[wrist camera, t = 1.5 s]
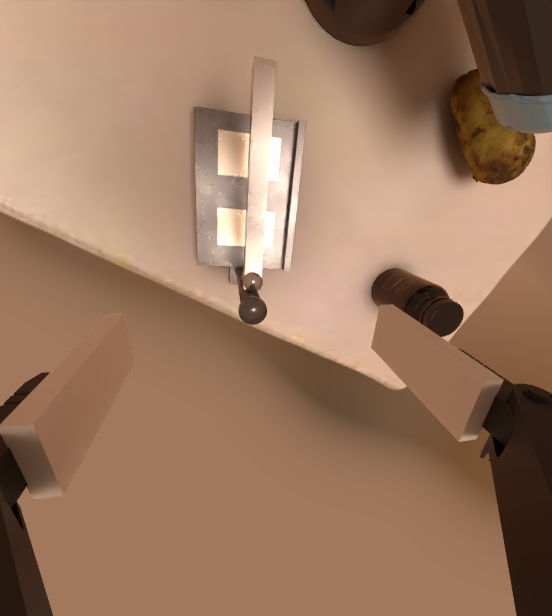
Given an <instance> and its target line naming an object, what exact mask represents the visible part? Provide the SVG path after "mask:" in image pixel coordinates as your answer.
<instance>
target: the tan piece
mask: <svg viewBox="0 0 552 616" xmlns="http://www.w3.org/2000/svg"><path fill="white" fill-rule="evenodd" d="M276 67H277V61H274V60H269V59H264V58H259V57H255V58H254V62H253V67H252V86H251V108H250V131H249V153H248V176H247V199H246V221H245V244H244V266H243V272H242V279H243V287H244V289H247V290H248V291H252V292H254V291H257V290H261V287H262V284H263V281H262V278H261V277H262V263H263V249H264V235H265V221H266V207H267V193H268V179H269V165H270V151H271V137H272V123H273V109H274V95H275V81H276Z"/></svg>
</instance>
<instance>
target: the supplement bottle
mask: <svg viewBox="0 0 552 616" xmlns="http://www.w3.org/2000/svg"><path fill="white" fill-rule="evenodd" d="M373 299H374V301H375V303H376V304H377V305H378V306H379V307H380V305H390V304H393V305H394V306H396V307H397V308H399V309H400V310H402V311H403V312H405V313H406V314H408V315H409V316H410V317H412V318H413V319H415V320H416V321H418V322H419V323H421V324H422V325H424V326H425V327H427V328H428V329H430V330H431V331H433V332H434V333H436V334H437V335H438V336H440V337H443V336H446V335H449V334H451V333H452V332H454V331H455V330H456V329H457V328H458V326H460V323H461V322H462V320H463V316H464V315H463V313H464V312H463V309H462V307H461V306H460V304H458V303H456V302H454V301H453V300H452V299H450V298H449V296H448V293H447V292H446V290H445V289H444V288H442V287H441V286H439V285H437V284H434V283H432V282H430V281H427V280H425V279H423V278H420V277H418V276H416V275H413V274H411V273H409V272H406V271H404V270H401V269H393V270H389V271H387V272H385V273H384V274H382V275H381V276H380V277H379V278H378V279H377V281H376V283H375V285H374V287H373Z"/></svg>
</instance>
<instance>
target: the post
mask: <svg viewBox="0 0 552 616" xmlns="http://www.w3.org/2000/svg"><path fill="white" fill-rule="evenodd" d="M242 272H243V267H230V284H238V289H239V295H240V301H241V303H240V305H239V316H240V318H241V319H242V321H244V322H245V323H247V324H252V325H253V324H258V323H260V322H262V321H263V320H264V319H265V317H266V315H267V308H266V305H265V303H264V301H263V300H262V299H260V297H259V294H258V291H254V292H252V291H248V290H247V289H244V287H243V279H242Z"/></svg>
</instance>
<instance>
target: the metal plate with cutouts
mask: <svg viewBox="0 0 552 616" xmlns="http://www.w3.org/2000/svg"><path fill="white" fill-rule="evenodd" d="M194 128H195V173H196V218H197V263H198V265H207V266H230V267H243V266H244V244H245V221H246V199H247V176H248V153H249V131H250V115H246V114H239V113H233V112H226V111H220V110H214V109H207V108H201V107H194ZM305 130H306V121H303V120H299V121H298V122H290V121H284V120H278V119H273V123H272V137H271V151H270V165H269V179H268V193H267V207H266V221H265V235H264V249H263V263H262V268H275V269H283V271H290V264H291V255H292V246H293V237H294V228H295V219H296V210H297V201H298V192H299V183H300V174H301V165H302V157H303V148H304V139H305Z"/></svg>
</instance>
